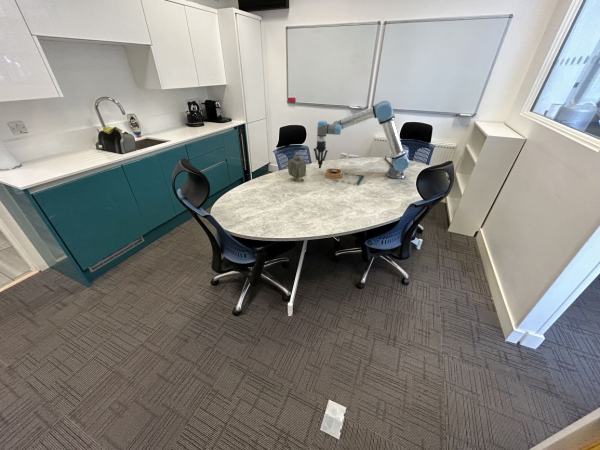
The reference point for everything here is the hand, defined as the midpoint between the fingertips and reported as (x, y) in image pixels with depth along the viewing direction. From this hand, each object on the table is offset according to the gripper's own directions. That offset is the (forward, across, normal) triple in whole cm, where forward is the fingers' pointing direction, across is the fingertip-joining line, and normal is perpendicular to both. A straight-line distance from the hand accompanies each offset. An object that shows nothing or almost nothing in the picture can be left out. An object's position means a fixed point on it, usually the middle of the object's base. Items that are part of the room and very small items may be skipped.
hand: (319, 167), depth 219 cm
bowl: (+6, +13, 0) cm, 14 cm away
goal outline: (+5, +26, 0) cm, 27 cm away
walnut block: (+5, +13, 0) cm, 14 cm away
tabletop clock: (+6, -13, -22) cm, 26 cm away
